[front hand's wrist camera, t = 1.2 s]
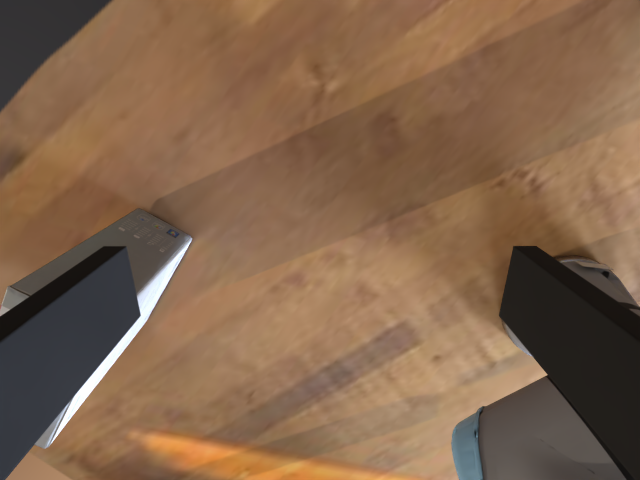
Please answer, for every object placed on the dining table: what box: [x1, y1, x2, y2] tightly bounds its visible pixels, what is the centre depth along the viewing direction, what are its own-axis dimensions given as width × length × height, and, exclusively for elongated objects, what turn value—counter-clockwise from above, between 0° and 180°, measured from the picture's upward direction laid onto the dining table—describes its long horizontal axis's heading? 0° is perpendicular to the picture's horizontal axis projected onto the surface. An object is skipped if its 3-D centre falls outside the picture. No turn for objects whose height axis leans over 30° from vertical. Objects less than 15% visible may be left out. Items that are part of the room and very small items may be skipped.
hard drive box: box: [0, 208, 192, 449], centre depth 38 cm, size 16×8×20 cm, turn 147°
